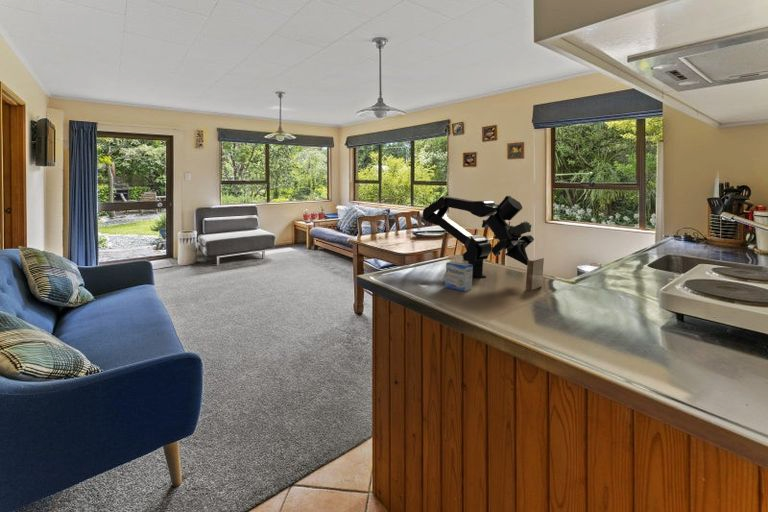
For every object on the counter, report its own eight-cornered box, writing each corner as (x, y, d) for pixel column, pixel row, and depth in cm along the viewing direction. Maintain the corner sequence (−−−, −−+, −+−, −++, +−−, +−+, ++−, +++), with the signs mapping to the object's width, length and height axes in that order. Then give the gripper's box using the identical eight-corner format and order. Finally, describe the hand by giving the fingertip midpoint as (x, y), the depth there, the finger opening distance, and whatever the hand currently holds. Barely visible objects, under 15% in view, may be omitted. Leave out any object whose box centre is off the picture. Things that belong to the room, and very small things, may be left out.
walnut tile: (525, 289, 136) (527, 260, 134) (536, 285, 140) (538, 257, 139) (531, 290, 134) (533, 261, 132) (541, 287, 139) (544, 258, 137)
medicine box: (444, 287, 139) (445, 262, 137) (452, 285, 142) (453, 260, 140) (464, 291, 133) (465, 265, 132) (472, 289, 136) (473, 263, 135)
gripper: (501, 215, 133) (530, 253, 126) (530, 212, 145) (558, 246, 139) (479, 237, 140) (507, 274, 134) (509, 232, 152) (535, 265, 146)
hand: (528, 264), depth 138 cm, fingers closed
